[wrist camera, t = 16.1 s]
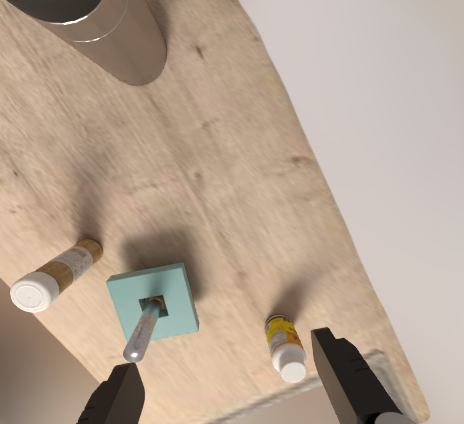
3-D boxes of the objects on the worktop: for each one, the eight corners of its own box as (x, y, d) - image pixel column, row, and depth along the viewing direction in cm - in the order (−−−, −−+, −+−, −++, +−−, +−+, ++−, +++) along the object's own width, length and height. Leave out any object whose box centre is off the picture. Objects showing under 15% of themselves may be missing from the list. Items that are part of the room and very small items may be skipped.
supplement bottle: (296, 330, 46) (317, 378, 37) (270, 341, 47) (283, 392, 37) (286, 308, 45) (304, 352, 35) (259, 320, 45) (269, 366, 36)
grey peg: (140, 279, 42) (102, 339, 29) (173, 273, 42) (150, 329, 29) (149, 307, 44) (117, 377, 30) (181, 302, 44) (163, 369, 30)
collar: (111, 275, 39) (105, 282, 37) (183, 261, 39) (181, 267, 37) (132, 335, 42) (128, 344, 40) (199, 323, 42) (198, 331, 40)
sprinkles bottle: (70, 250, 40) (-1, 296, 27) (88, 232, 40) (23, 271, 27) (92, 268, 41) (33, 320, 28) (109, 251, 41) (57, 297, 28)
